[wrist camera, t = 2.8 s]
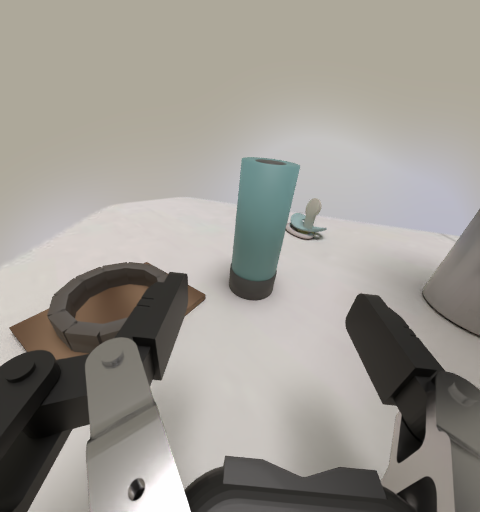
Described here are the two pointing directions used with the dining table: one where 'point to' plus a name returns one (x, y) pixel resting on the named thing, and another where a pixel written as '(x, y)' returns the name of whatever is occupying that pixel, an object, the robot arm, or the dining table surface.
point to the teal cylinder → (260, 224)
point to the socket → (92, 309)
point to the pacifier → (305, 221)
